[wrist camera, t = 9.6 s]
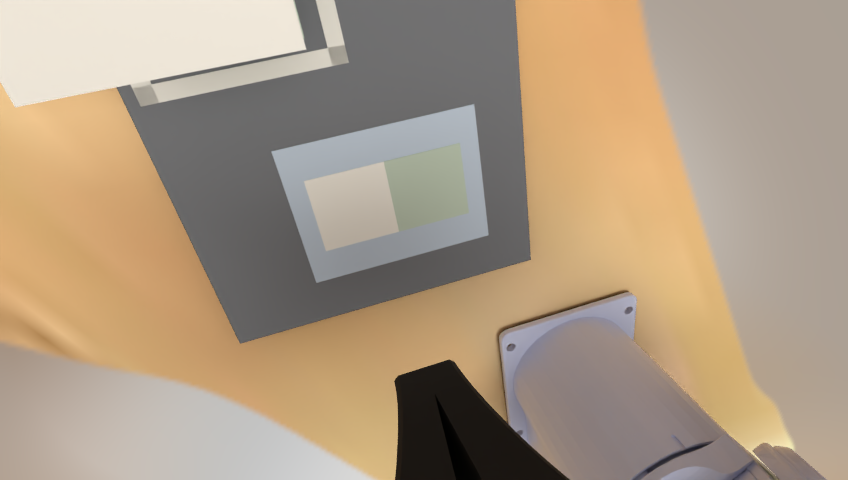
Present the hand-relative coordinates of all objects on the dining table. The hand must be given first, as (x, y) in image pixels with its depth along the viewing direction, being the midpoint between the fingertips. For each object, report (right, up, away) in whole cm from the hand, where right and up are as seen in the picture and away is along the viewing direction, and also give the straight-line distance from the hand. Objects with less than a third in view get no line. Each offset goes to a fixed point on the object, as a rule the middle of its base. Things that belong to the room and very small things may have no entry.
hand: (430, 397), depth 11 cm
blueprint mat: (-3, +10, +6) cm, 12 cm away
